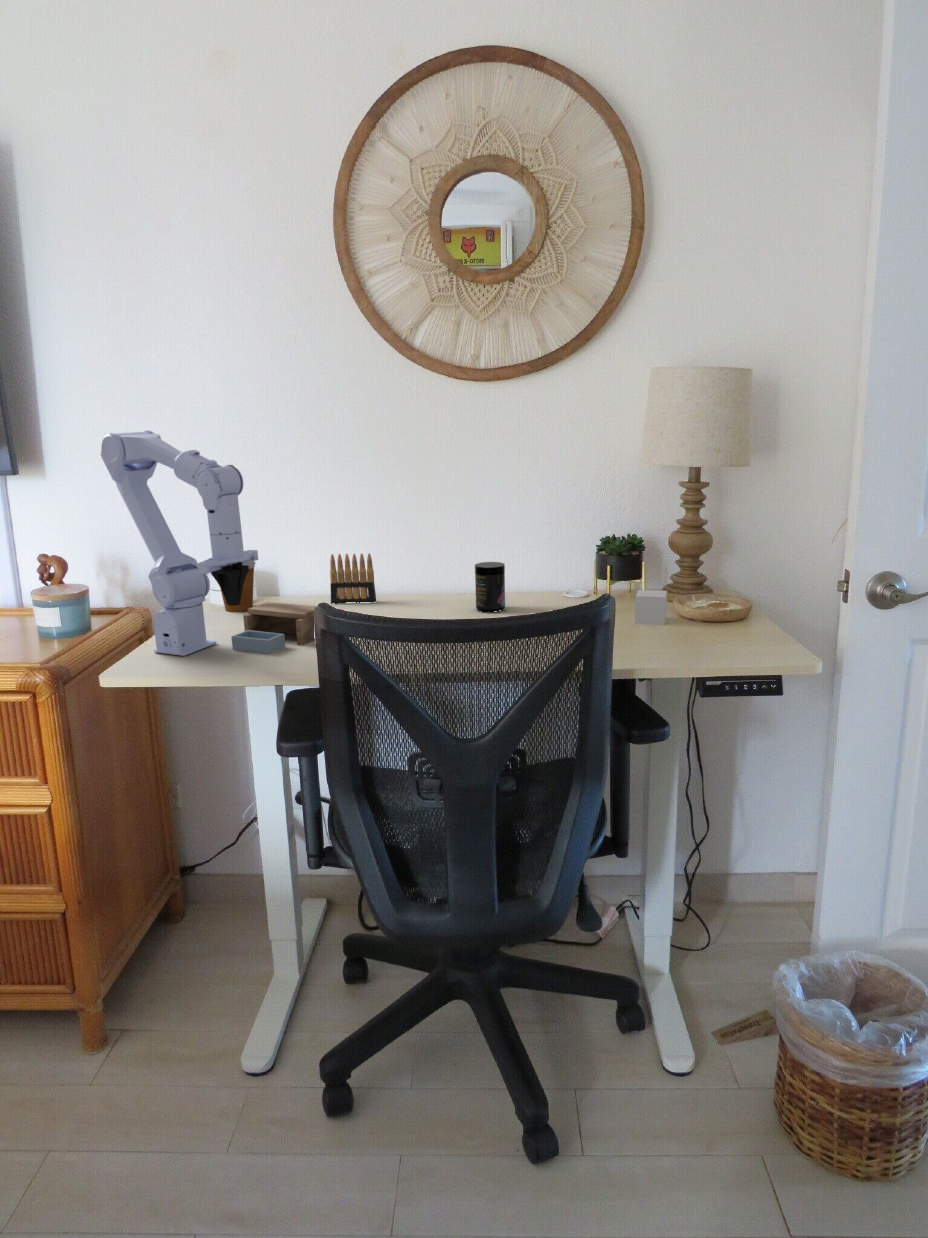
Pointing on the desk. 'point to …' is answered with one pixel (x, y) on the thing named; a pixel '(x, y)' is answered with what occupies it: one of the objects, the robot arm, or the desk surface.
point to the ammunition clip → (352, 580)
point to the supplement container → (490, 586)
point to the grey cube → (650, 607)
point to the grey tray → (258, 641)
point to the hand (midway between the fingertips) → (233, 604)
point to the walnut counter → (282, 619)
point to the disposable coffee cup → (244, 592)
